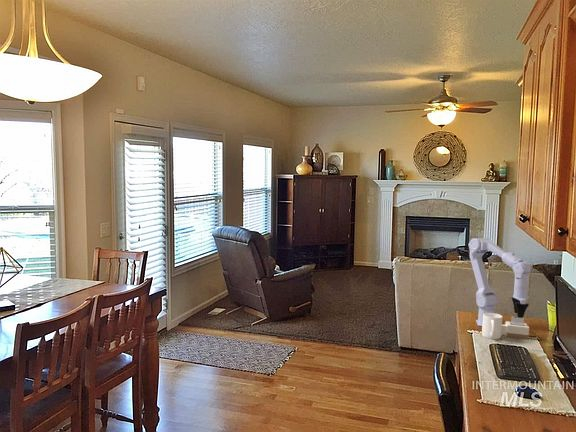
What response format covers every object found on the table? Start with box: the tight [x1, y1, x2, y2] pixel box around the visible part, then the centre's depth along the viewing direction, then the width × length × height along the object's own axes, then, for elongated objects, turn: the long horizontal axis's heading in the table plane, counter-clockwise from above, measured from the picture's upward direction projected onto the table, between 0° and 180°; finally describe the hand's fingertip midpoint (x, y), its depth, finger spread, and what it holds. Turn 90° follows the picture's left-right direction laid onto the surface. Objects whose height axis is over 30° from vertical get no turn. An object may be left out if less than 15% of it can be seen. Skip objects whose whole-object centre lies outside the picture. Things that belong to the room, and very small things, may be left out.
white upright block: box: [510, 315, 525, 326], centre depth 223 cm, size 2×5×7 cm, turn 75°
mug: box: [481, 312, 503, 340], centre depth 219 cm, size 12×8×10 cm
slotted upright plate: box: [501, 320, 530, 340], centre depth 224 cm, size 7×18×6 cm, turn 74°
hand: (518, 315), depth 223 cm, fingers open, 7 cm apart
